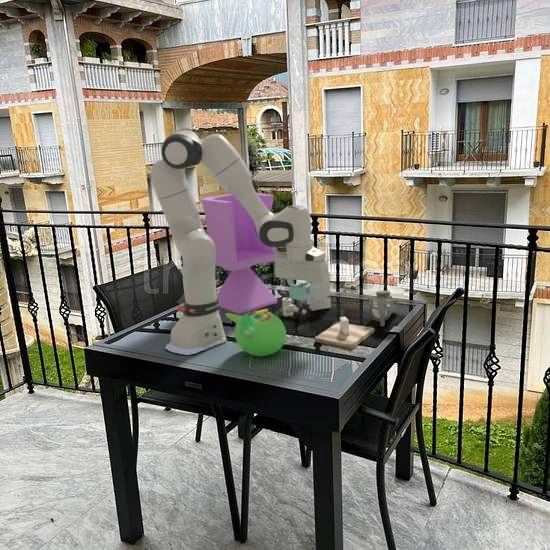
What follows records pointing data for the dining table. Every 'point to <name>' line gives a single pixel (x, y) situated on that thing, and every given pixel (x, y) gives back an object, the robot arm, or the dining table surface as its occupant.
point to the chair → (238, 253)
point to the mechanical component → (382, 306)
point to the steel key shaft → (344, 325)
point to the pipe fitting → (374, 312)
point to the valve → (294, 309)
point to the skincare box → (320, 296)
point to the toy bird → (259, 332)
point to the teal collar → (300, 291)
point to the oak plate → (344, 336)
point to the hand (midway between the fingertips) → (301, 291)
